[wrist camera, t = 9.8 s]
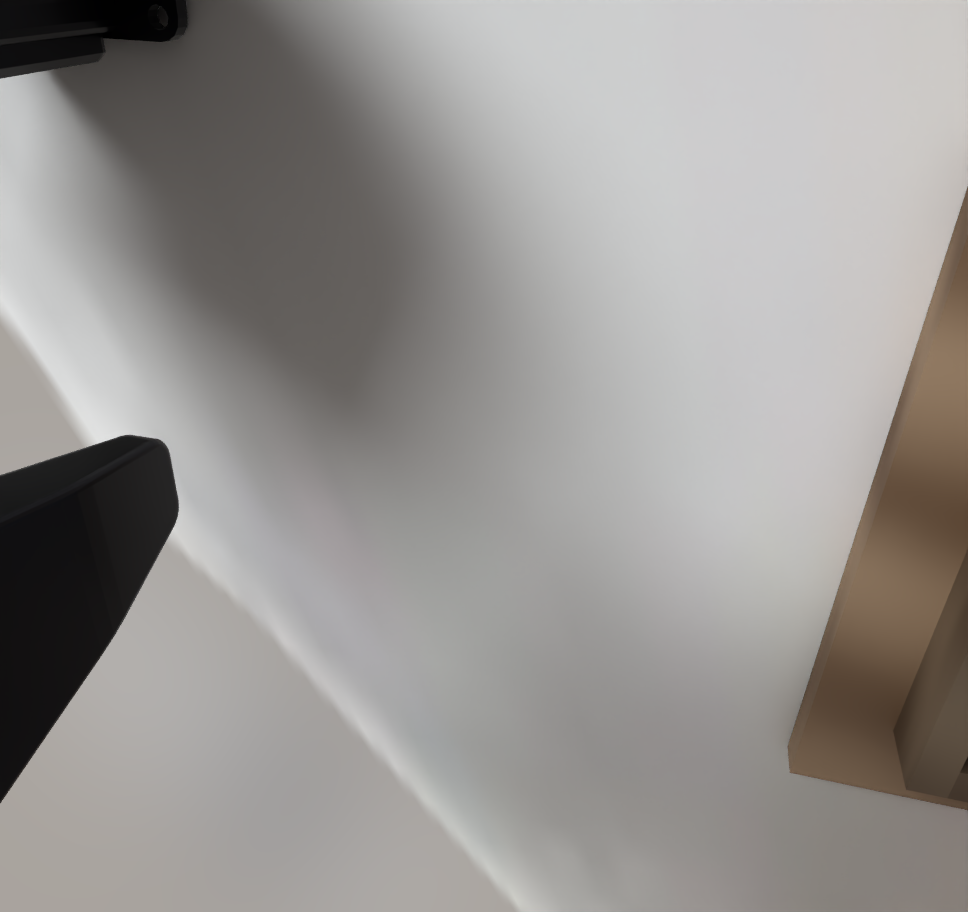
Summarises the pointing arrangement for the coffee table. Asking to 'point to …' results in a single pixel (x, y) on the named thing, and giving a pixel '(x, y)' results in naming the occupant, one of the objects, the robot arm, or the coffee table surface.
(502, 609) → the coffee table surface
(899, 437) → the keyed nest
